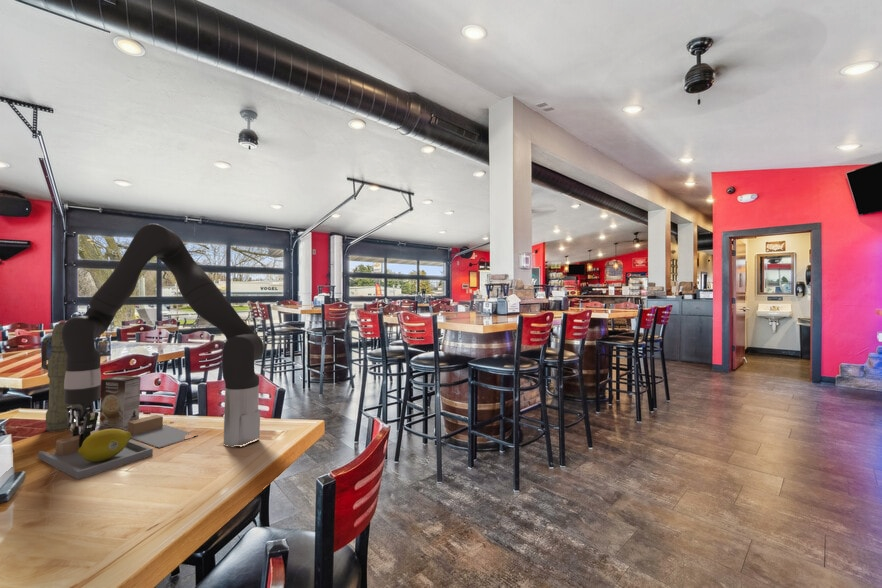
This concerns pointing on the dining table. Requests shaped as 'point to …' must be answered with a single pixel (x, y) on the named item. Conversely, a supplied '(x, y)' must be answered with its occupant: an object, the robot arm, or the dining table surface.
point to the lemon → (104, 444)
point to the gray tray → (80, 468)
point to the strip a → (155, 431)
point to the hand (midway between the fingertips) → (80, 444)
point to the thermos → (56, 380)
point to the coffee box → (119, 400)
